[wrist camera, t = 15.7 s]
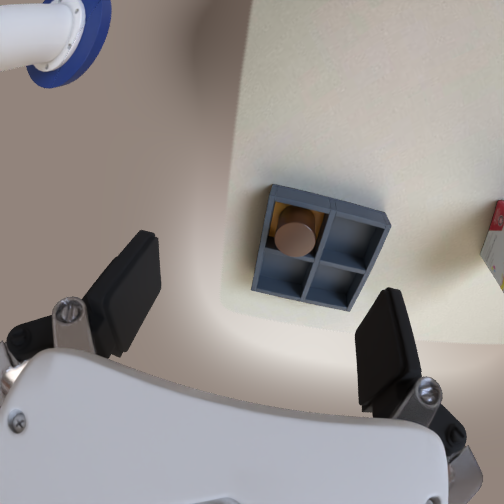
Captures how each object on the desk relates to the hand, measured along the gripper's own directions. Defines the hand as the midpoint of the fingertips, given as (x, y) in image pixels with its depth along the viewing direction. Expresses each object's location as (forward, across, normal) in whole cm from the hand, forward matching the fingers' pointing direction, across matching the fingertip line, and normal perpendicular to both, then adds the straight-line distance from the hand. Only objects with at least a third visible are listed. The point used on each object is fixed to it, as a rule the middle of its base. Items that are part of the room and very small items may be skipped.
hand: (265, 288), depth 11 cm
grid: (+19, -6, +10) cm, 22 cm away
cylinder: (+19, -2, +7) cm, 20 cm away
